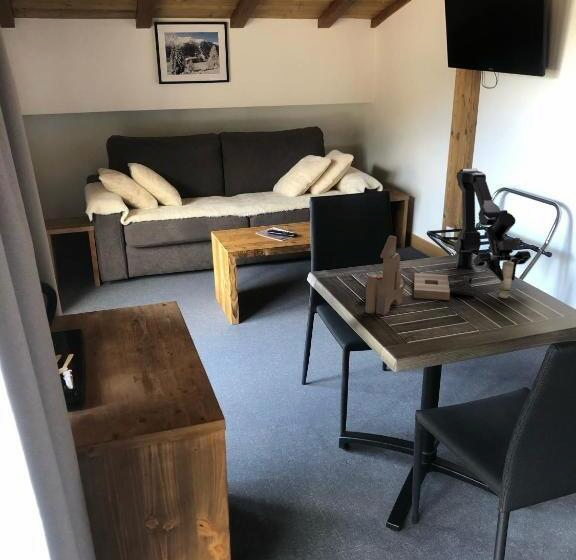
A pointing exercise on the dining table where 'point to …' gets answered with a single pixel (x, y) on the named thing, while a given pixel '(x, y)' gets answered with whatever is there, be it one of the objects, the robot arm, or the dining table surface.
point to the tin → (379, 278)
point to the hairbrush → (464, 287)
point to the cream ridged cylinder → (506, 279)
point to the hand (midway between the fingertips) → (508, 280)
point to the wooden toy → (385, 282)
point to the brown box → (431, 286)
